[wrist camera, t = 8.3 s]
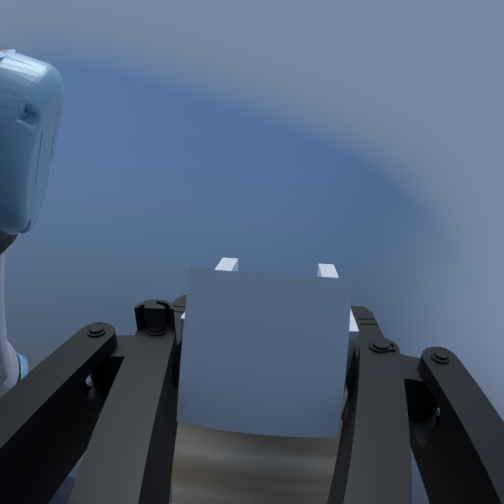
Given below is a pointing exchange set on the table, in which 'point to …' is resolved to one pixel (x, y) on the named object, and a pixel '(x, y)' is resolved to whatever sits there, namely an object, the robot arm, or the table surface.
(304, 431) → the bar
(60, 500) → the table surface
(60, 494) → the table surface
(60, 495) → the table surface
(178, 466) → the stand
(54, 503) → the table surface
